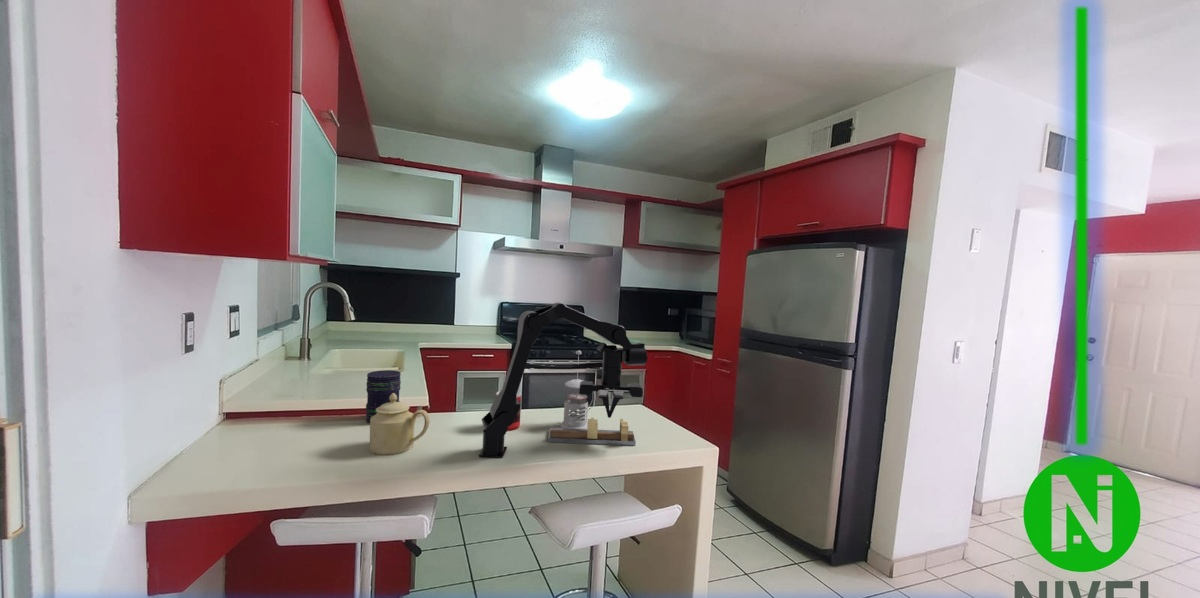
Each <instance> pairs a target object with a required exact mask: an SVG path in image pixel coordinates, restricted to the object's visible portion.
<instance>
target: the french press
mask: <svg viewBox="0 0 1200 598" xmlns="http://www.w3.org/2000/svg"><path fill="white" fill-rule="evenodd" d="M575 354H576V355H578V356H577V364H579V363H580V361H579V360H580V357H579V356H580V355H582V351H581V350H576V351H575ZM576 373H577V374H576V375H577V376H576V378H575V379H574V378H573V379H570V380H568V381H566V382H565V383H564V385H565V387H566V388H568V389H576V390H580V382H581V381H584V380H582V379H579V370H577V371H576ZM591 395H592V396H591V397H592V399H591V401H590V404H589V401H588V400H587V398H588V396H587V395H582V394H579V392H578V391H576V393H568V394H566V395H565V398H566V399H564V407H563V420H562V422H561V423H560V428H570V429H587V424H588V411H589V410H590V409H592V408H593V407H594V405H595V402H596V392H595V391H593V393H591ZM571 402H572V403H571ZM577 402H578V403H577ZM590 406H591V407H590ZM589 407H590V408H589Z"/></svg>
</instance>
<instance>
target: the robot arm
mask: <svg viewBox="0 0 1200 598" xmlns="http://www.w3.org/2000/svg"><path fill="white" fill-rule="evenodd" d="M559 319H563V320H566V321H568V322H570V323H572V324H575V325H577V326H580V327H582V328H584V329H587V330H590V331H591V332H593V333H594V334H596V335H597V336H598V337H599V338H601V339H603V340H604V341H606V342H608V343H610V344H607V343H606V342H603V341H602V342H601V344H600V345H597V346H596V350H597V351H600V352H603V354H602V368H601V369H596V381H600V384H594V382H593V381H590V380H589V381H588V380H583V381H581V382H580V389H578V390H579V392H578V393H579V394H582V395H586V396H587V395H588V396H590V395H592V393H593V394H594V392H597V396H598V398H599V399H601V400H602V402H603V404H604V407H605V411H606V416H607V418H609V419H611V417H612V415H613V414H614V411H615V409H616V406H617V405H618V403H619V402H620V401H621V400H624V394H629V395H630V396H631V397H632V398H643V397H644V388H643V386H642V385H641V383H632V382H628V385H627V386H625V385H621V383H622V367H623V363H624V365H625V366H645V365H646V364H647V362H648V358H649V357H648V353H647V349H646V347H645V343H643V342H636V343H633V342H631V341H630V339H629V338H628V336H627V331H626V328H625V327H624V326H623V325H620V324H616V323H614V322H609V321H604V320H599V319H597V318H594V317H592V316H589V315H588V314H585V313H582V312H580V311H579V310H576V309H575V308H571V307H569V306H567V305H566V304H564V303H561V302H554V303H553V304H551V305H548V306H545V307H542V308H538V309H536V310H534V311H532V310H525V311H524V312H522V313H521V314H520V316H519V318H518V324H517V336H516V337H517V339H516V343H515V347H514V351H513V353H512V355H511V356H512V357H511V360H510V363H509V366H508V368H507V373H506V375H505V378H504V382H503V385H502V389H500V390H499V391H500V393H499V394H498V396H497V397H496V396H495V398H496V399H494V401H493V403H492V404H491V407H490V409H489V412H488V413H487V414H485V415H484V416H483V418H481V423H482V426H483V432H482V448H481V450H480V451H479V453H478V457H479V458H480V457H481V458H504V456H505V454H506V451H507V449H508V446H505V435H506V434H507V432H508V431H507V429H508V426H510V425H512V424H513V422H514V419H516V420H517V413H518V411H519V409H520V407H521V406H522V403H521V404H520V403H519V401H518V400H517V399H516V396H517V392H518V391H519V389H520V386H521V383H522V379H523V376H524V373H525V369H526V366H527V363H528V360H529V358H530V357H529V356H530V353H531V351H532V347H533V346H534V344H535V342H536V341H537V340H538V338H539V337H540V335H541V333H542V331H543V330H544V328H545V327H546V326H548V325H551V324H552V323H554V322H556V321H557V320H559ZM616 345H617V346H619V347H617V346H616ZM593 391H594V392H593ZM609 393H611V401H610V399H609ZM609 401H610V402H609ZM521 408H522V407H521Z"/></svg>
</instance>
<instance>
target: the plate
mask: <svg viewBox="0 0 1200 598" xmlns="http://www.w3.org/2000/svg"><path fill="white" fill-rule="evenodd" d="M550 430H574V431H587V429H570V428H562V427H550V428H549V432H548V437H547V443H559V444H560V443H564V444H565V443H566V444H584V445H585V444H587V445H588V444H589V445H593V444H594V445H610V446H612V445H613V446H636V443H637V442H636V437H635V436H634V440H628V441H621V440H619V439H592V438H570V437H550ZM598 432H620V430H616V429H615V430H614V429H598ZM628 433H634V432H633V430H628Z"/></svg>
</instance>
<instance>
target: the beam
mask: <svg viewBox="0 0 1200 598" xmlns="http://www.w3.org/2000/svg"><path fill="white" fill-rule="evenodd" d="M629 426H630V425H629V423H628V421H624V419H623V418H620V419H619V431H620V432H598V431H597V439H619V440H621V441H628V440H634V437H635V433H634V432H633V433H628V431H629ZM549 432H550V437H570V438H587V431H574V430H550V429H549Z"/></svg>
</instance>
